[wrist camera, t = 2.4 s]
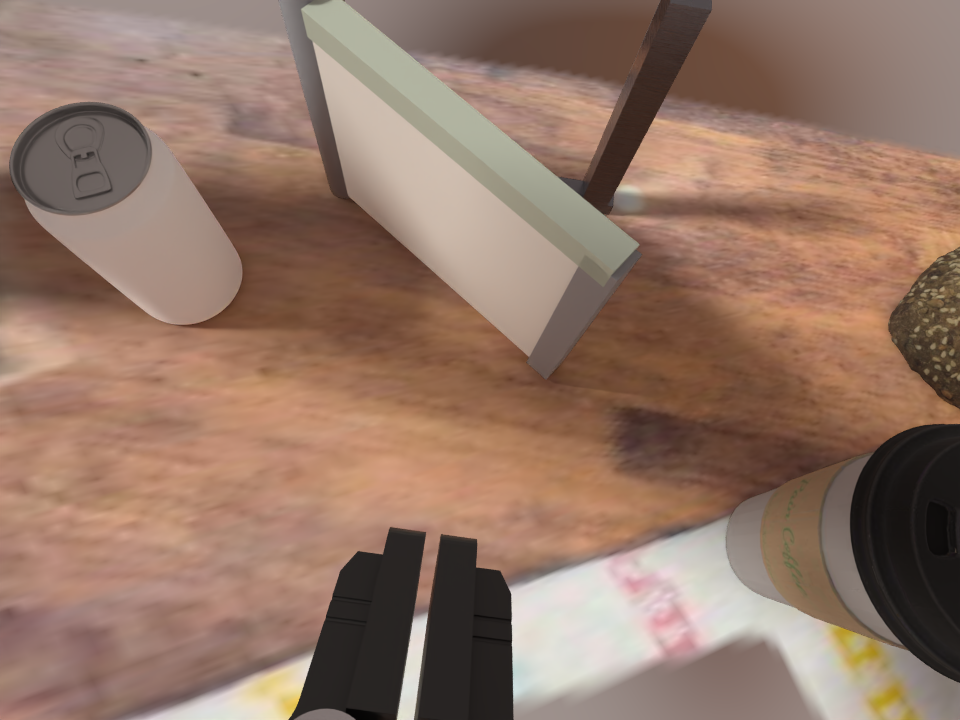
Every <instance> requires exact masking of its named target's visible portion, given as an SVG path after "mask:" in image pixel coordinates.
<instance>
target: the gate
mask: <svg viewBox="0 0 960 720" xmlns="http://www.w3.org/2000/svg"><path fill="white" fill-rule="evenodd" d="M278 1H279V5H280V9H281V13H282V16H283V20H284V23H285V27H286V31H287V34H288V38H289V42H290V45H291V49H292V52H293V56H294V60H295V63H296V67H297V70H298V74H299V78H300V81H301V85H302V89H303V92H304V96H305V99H306V103H307V107H308V110H309V114H310V118H311V121H312V125H313V128H314V132H315V136H316V139H317V143H318V146H319V150H320V154H321V157H322V161H323V165H324V168H325V172H326V175H327V179H328V183H329V186H330V190H331V192H332V193H333V194H334V195H335V196H337V197H339V198H351V199H352V200H353V201H354V202H356V203H357V204H358V205H359V206H360V207H361V208H362V209H363V210H365V211H366V212H367V213H368V214H369V215H370V216H371V217H372V218H374V219H375V220H376V221H377V222H378V223H379V224H380V225H381V226H382V227H384V228H385V229H386V230H387V231H388V232H389V233H390V234H391V235H393V236H394V237H395V238H396V239H397V240H398V241H399V242H400V243H402V244H403V245H404V246H405V247H406V248H407V249H408V250H409V251H411V252H412V253H413V254H414V255H415V256H416V257H417V258H418V259H420V260H421V261H422V262H423V263H424V264H425V265H426V266H427V267H429V268H430V269H431V270H432V271H433V272H434V273H435V274H436V275H438V276H439V277H440V278H441V279H442V280H443V281H444V282H445V283H447V284H448V285H449V286H450V287H451V288H452V289H453V290H454V291H456V292H457V293H458V294H459V295H460V296H461V297H462V298H463V299H464V300H466V301H467V302H468V303H469V304H470V305H471V306H472V307H473V308H475V309H476V310H477V311H478V312H479V313H480V314H481V315H482V316H484V317H485V318H486V319H487V320H488V321H489V322H490V323H491V324H493V325H494V326H495V327H496V328H497V329H498V330H499V331H500V332H502V333H503V334H504V335H505V336H506V337H507V338H508V339H509V340H511V341H512V342H513V343H514V344H515V345H516V346H517V347H518V348H520V349H521V350H522V351H523V352H524V353H525V354H526V355H527V356H529V359H528V360H527V362H526V363H528V364H529V365H530V366H531V367H532V368H533V369H534V370H535V371H537V372H538V373H539V374H540V375H541V376H542V377H543V378H544V379H547V378H548V377H549V376H550V375H551V374H552V373H553V372H554V371H555V370H556V369H557V367H558V366H559V365H560V364H561V363H562V362H563V361H564V359H565V358H566V357H567V355H568V354H569V353H570V351H571V350H572V349H573V347H574V346H575V345H576V343H577V342H578V341H579V339H580V338H581V336H582V335H583V334H584V332H585V331H586V330H587V328H588V327H589V326H590V324H591V323H592V322H593V320H594V319H595V318H596V316H597V315H598V313H599V312H600V311H601V309H602V308H603V307H604V305H605V304H606V303H607V301H608V300H609V299H610V297H611V296H612V295H613V293H614V292H615V291H616V289H617V288H618V286H619V285H620V284H621V282H622V281H623V280H624V278H625V277H626V276H627V274H628V273H629V272H630V270H631V269H632V268H633V266H634V265H635V263H636V262H637V261H638V259H639V258H640V257H641V255H642V254H641V253H640V252H638V251H637V250H636V249H637V248H638V246H639V245H640V244H638V243H637V242H636V241H635V240H633V239H632V238H631V237H630V236H629V235H627V234H626V233H625V232H624V231H623V230H621V229H620V228H619V227H618V226H616V225H615V224H614V223H613V222H612V221H610V220H609V219H608V218H607V217H606V216H604V215H603V214H602V213H601V212H599V211H598V210H597V209H596V208H595V207H593V206H592V205H591V204H590V203H589V202H587V201H586V200H585V199H584V198H582V197H581V196H580V195H579V194H578V193H576V192H575V191H574V190H573V189H571V188H570V187H569V186H568V185H567V184H565V183H564V182H563V181H562V180H561V179H559V178H558V177H557V176H556V175H554V174H553V173H552V172H551V171H550V170H548V169H547V168H546V167H545V166H544V165H542V164H541V163H540V162H539V161H537V160H536V159H535V158H534V157H533V156H531V155H530V154H529V153H528V152H527V151H525V150H524V149H523V148H522V147H520V146H519V145H518V144H517V143H516V142H514V141H513V140H512V139H511V138H509V137H508V136H507V135H506V134H505V133H503V132H502V131H501V130H500V129H499V128H497V127H496V126H495V125H494V124H492V123H491V122H490V121H489V120H488V119H486V118H485V117H484V116H483V115H482V114H480V113H479V112H478V111H477V110H475V109H474V108H473V107H472V106H471V105H469V104H468V103H467V102H466V101H465V100H463V99H462V98H461V97H460V96H458V95H457V94H456V93H455V92H454V91H452V90H451V89H450V88H449V87H447V86H446V85H445V84H444V83H443V82H441V81H440V80H439V79H438V78H437V77H435V76H434V75H433V74H432V73H430V72H429V71H428V70H427V69H426V68H424V67H423V66H422V65H421V64H420V63H418V62H417V61H416V60H415V59H413V58H412V57H411V56H410V55H409V54H407V53H406V52H405V51H404V50H402V49H401V48H400V47H399V46H398V45H396V44H395V43H394V42H393V41H391V40H390V39H389V38H388V37H387V36H385V35H384V34H383V33H382V32H381V31H379V30H378V29H377V28H376V27H374V26H373V25H372V24H371V23H370V22H368V21H367V20H366V19H365V18H364V17H362V16H361V15H360V14H359V13H357V12H356V11H355V10H354V9H353V8H351V7H350V6H349V5H348V4H346V3H345V2H344V1H343V0H278Z"/></svg>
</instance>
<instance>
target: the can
mask: <svg viewBox="0 0 960 720" xmlns="http://www.w3.org/2000/svg"><path fill="white" fill-rule="evenodd" d="M9 169H10V175H11V179H12V182H13V184H14V186H15V188H16V189H17V191H18V192H19V193H20V195H21V196H22V197H23V198H24V200H25V203H26V205H27V207H28V209H29V211H30V213H31V214H32V216H33V217H34V218H35V219H36V220H37V222H38V223H39V224H40V225H41V226H42V227H43V228H44V229H46V230H47V231H48V232H49V233H50V234H51V235H52V236H54V237H55V238H56V239H57V240H58V241H59V242H61V243H62V244H63V245H64V246H65V247H67V248H68V249H69V250H70V251H71V252H73V253H74V254H75V255H76V256H78V257H79V258H80V259H81V260H82V261H84V262H85V263H86V264H87V265H88V266H90V267H91V268H92V269H93V270H95V271H96V272H97V273H98V274H99V275H101V276H102V277H103V278H104V279H105V280H107V281H108V282H109V283H110V284H112V285H113V286H114V287H115V288H117V289H118V290H119V291H120V292H121V293H123V294H124V295H125V296H126V297H128V298H129V299H130V300H131V301H133V302H134V303H135V304H136V305H138V306H139V307H140V308H141V309H143V310H144V311H145V312H147V313H148V314H149V315H151V316H152V317H154V318H156V319H158V320H160V321H163V322H166V323H170V324H176V325H188V324H195V323H199V322H202V321H205V320H208V319H210V318H212V317H214V316H215V315H217V314H219V313H220V312H221V311H223V310H224V309H225V308H226V307H227V306H228V305H229V304H230V303H231V302H232V300H233V299H234V298H235V296H236V294H237V292H238V290H239V288H240V285H241V281H242V263H241V260H240V257H239V255H238V253H237V251H236V249H235V247H234V246H233V244H232V243H231V241H230V239H229V238H228V236H227V235H226V233H225V232H224V230H223V229H222V227H221V225H220V224H219V222H218V221H217V219H216V218H215V216H214V215H213V213H212V212H211V210H210V209H209V207H208V205H207V204H206V202H205V201H204V199H203V198H202V196H201V195H200V193H199V192H198V190H197V189H196V187H195V186H194V184H193V183H192V181H191V180H190V178H189V177H188V175H187V173H186V172H185V170H184V169H183V167H182V166H181V164H180V163H179V161H178V160H177V158H176V157H175V156H174V154H173V153H172V151H171V150H170V149H169V147H168V146H167V145H166V143H165V142H164V141H163V140H162V139H161V138H160V137H159V136H158V135H157V134H155V133H154V132H153V131H151V130H150V129H148V128H147V127H145V126H143V125H142V124H141V123H140V121H139V120H138V119H136V118H135V117H134V116H133V115H132V114H130V113H129V112H127V111H125V110H123V109H121V108H119V107H116V106H113V105H110V104H105V103H99V102H80V103H73V104H68V105H64V106H61V107H58V108H55V109H53V110H51V111H49V112H47V113H45V114H43V115H41V116H40V117H38V118H37V119H35V120H34V121H33V122H32V123H31V124H29V125H28V126H27V127H26V128H25V129H24V131H23V132H22V133H21V134H20V136H19V137H18V139H17V140H16V142H15V144H14V146H13V149H12V152H11V155H10V162H9Z"/></svg>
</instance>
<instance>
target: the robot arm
mask: <svg viewBox="0 0 960 720" xmlns="http://www.w3.org/2000/svg"><path fill="white" fill-rule="evenodd" d="M425 537H426V532H421V531H414V530H406V529H399V528H392V527H390V529H389V532H388V536H387V540H386V544H385V548H384V553H383V555H382V554H375V553H367V552H360V551H358V552H357V553H356V554H355V555H354V556H353V557H352V558H351V560H350V561H349V562H348V563H347V564H346V565H345V566H344V567H343V569H342V570H341V571H340V574H339V577H338V580H337V583H336V586H335V589H334V593H333V596H332V600H331V602H330V605H329V608H328V611H327V615H326V619H325V621H324V624H323V627H322V630H321V633H320V636H319V640H318V643H317V646H316V649H315V652H314V655H313V658H312V662H311V665H310V668H309V671H308V674H307V677H306V680H305V684H304V687H303V690H302V693H301V696H300V699H299V702H298V704H297V707H296V709H295V710H294V712H293V714H292V716H291V717H290V718H289V720H397V716H398V709H399V703H400V697H401V691H402V684H403V678H404V672H405V666H406V659H407V653H408V647H409V641H410V635H411V628H412V622H413V616H414V609H415V603H416V597H417V590H418V583H419V577H420V570H421V563H422V557H423V550H424V543H425ZM476 558H477V539H471V538H464V537H457V536H450V535H443V534H441V537H440V543H439V549H438V555H437V561H436V567H435V573H434V580H433V586H432V592H431V598H430V605H429V612H428V619H427V626H426V634H425V641H424V649H423V656H422V664H421V671H420V679H419V686H418V694H417V701H416V708H415V716H414V720H513V668H512V625H511V620H512V611H511V593H510V591H509V588H508V586H507V584H506V582H505V580H504V578H503V576H502V574H501V571H498V570H491V569H484V568H476Z"/></svg>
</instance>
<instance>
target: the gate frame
mask: <svg viewBox="0 0 960 720" xmlns="http://www.w3.org/2000/svg"><path fill="white" fill-rule="evenodd" d="M343 1H344V2H345V0H343ZM711 10H712V0H660V3H659V5H658V7H657V10H656V12H655V14H654V17H653V19H652V21H651V24H650V26H649V28H648V31H647V33H646V35H645V38H644V40H643V42H642V45H641V47H640V49H639V52H638V54H637V56H636V59H635V61H634V63H633V66H632V68H631V70H630V73H629V75H628V77H627V80H626V82H625V84H624V87H623V89H622V91H621V94H620V96H619V98H618V101H617V103H616V105H615V108H614V110H613V112H612V115H611V117H610V120H609V122H608V124H607V127H606V129H605V131H604V134H603V136H602V138H601V141H600V143H599V145H598V148H597V150H596V152H595V155H594V157H593V159H592V162H591V164H590V166H589V169H588V171H587V173H586V176H585V178H584V180H583V181H580V180H574V179H568V178H562V177H558V178H559V179H561V180H562V181H563V182H564V183H565V184H567V185H568V186H569V187H570V188H571V189H573V190H574V191H575V192H576V193H578V194H579V195H580V196H581V197H582V198H584V199H585V200H586V201H587V202H589V203H590V204H591V205H592V206H593V207H595V208H596V209H597V210H598V211H599V212H601V213H602V214H609V213H610V211H611V209H612V207H613V198H614V193H615V191H616V189H617V187H618V185H619V184H620V182H621V180H622V178H623V176H624V174H625V172H626V170H627V168H628V167H629V165H630V163H631V161H632V159H633V157H634V155H635V153H636V152H637V150H638V148H639V146H640V144H641V142H642V140H643V138H644V136H645V135H646V133H647V131H648V129H649V127H650V125H651V123H652V121H653V120H654V118H655V116H656V114H657V112H658V110H659V108H660V106H661V104H662V103H663V101H664V99H665V97H666V95H667V93H668V91H669V89H670V87H671V86H672V84H673V82H674V80H675V78H676V76H677V74H678V72H679V71H680V69H681V67H682V65H683V63H684V61H685V59H686V57H687V56H688V53H689V52H690V50H691V48H692V46H693V44H694V42H695V40H696V39H697V37H698V35H699V33H700V31H701V29H702V27H703V25H704V24H705V22H706V20H707V18H708V16H709V14H710V12H711Z"/></svg>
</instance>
